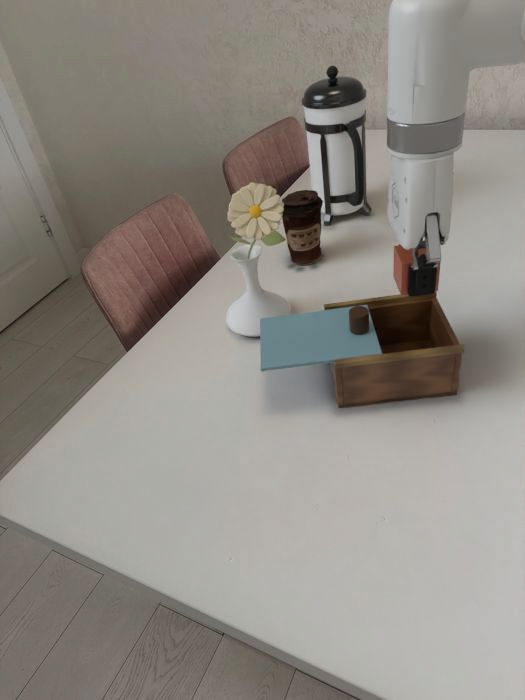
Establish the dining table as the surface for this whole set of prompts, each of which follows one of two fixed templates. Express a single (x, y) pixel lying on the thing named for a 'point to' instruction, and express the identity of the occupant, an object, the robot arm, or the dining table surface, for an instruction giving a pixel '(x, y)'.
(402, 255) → the block
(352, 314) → the sliding box lid
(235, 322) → the flower in vase
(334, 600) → the dining table surface
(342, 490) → the dining table surface
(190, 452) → the dining table surface
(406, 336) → the wooden box
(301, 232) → the coffee cup
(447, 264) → the dining table surface
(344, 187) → the coffee press
